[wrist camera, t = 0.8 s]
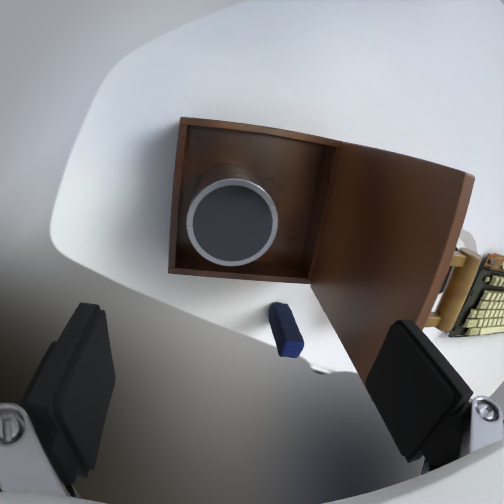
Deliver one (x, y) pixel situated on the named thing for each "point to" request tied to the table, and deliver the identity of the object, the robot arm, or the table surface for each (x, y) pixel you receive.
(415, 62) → the table surface
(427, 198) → the lid
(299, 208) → the storage box
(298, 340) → the eraser
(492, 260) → the keyboard
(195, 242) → the steel cup
